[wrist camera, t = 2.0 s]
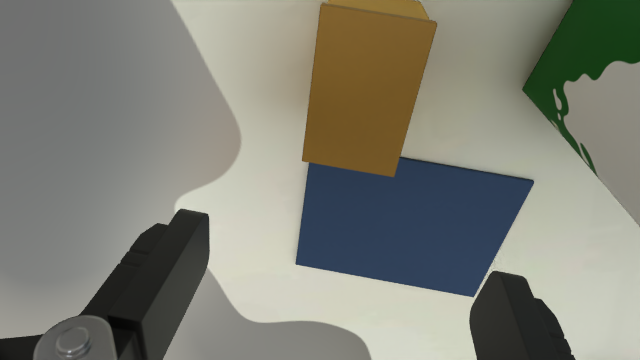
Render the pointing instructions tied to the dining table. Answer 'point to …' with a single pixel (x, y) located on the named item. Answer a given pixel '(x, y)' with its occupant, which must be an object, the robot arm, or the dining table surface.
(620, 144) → the milk carton
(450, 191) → the cloth
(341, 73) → the container
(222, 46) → the dining table surface
